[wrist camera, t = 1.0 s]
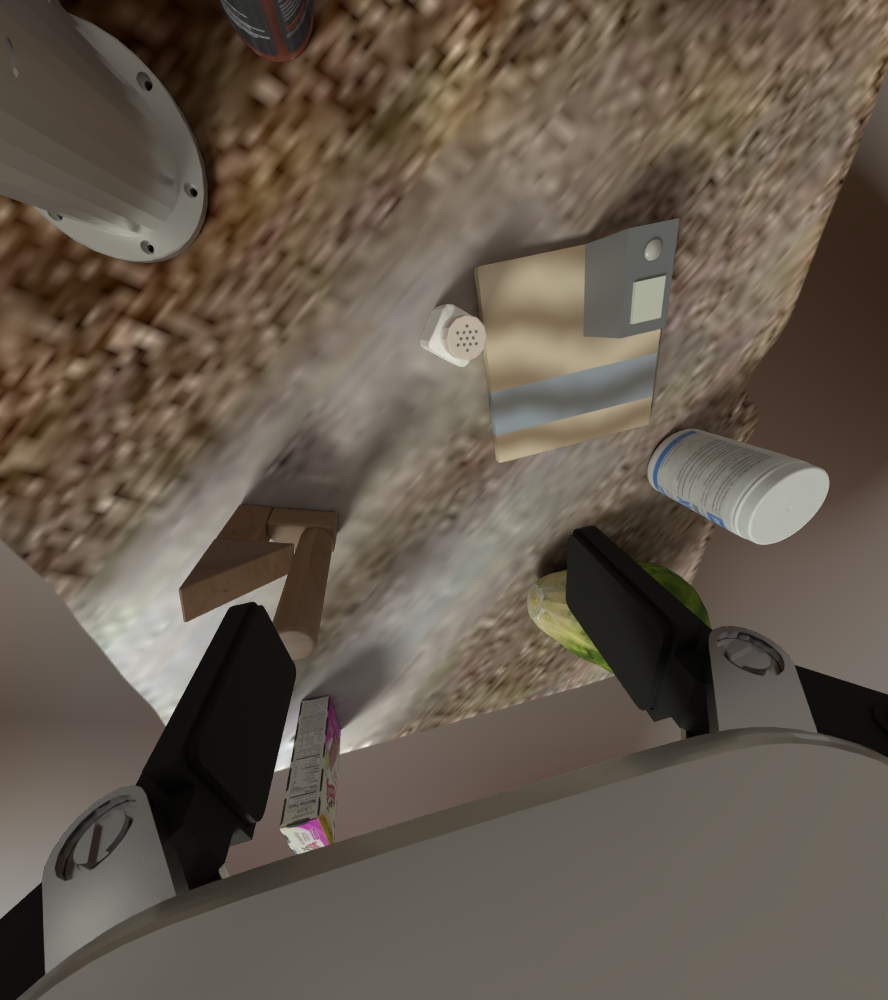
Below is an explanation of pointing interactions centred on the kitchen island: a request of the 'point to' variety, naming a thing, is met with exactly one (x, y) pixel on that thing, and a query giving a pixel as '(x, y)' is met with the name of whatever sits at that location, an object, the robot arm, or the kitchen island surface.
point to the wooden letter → (268, 568)
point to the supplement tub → (738, 484)
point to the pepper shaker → (453, 335)
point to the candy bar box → (312, 778)
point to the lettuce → (563, 626)
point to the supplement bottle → (272, 26)
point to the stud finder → (629, 280)
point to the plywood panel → (556, 358)
